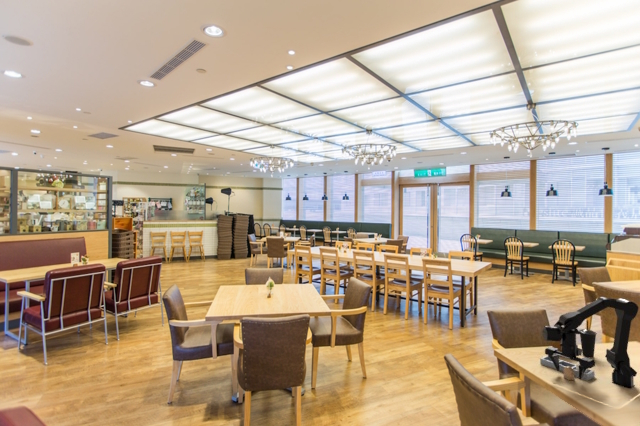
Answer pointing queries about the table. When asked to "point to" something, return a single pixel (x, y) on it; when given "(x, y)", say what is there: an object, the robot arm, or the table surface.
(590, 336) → the drinking cup
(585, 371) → the cream egg
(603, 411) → the table surface
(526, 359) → the table surface
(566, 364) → the egg tray
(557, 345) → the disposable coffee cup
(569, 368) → the brown egg
